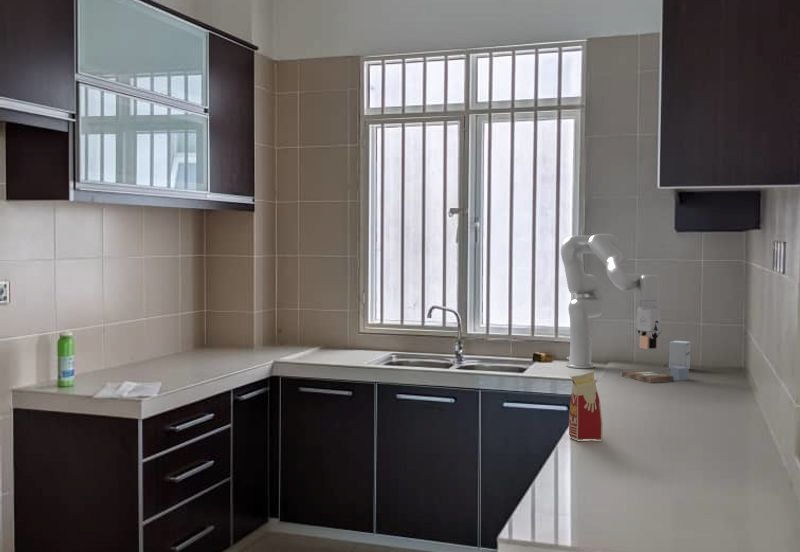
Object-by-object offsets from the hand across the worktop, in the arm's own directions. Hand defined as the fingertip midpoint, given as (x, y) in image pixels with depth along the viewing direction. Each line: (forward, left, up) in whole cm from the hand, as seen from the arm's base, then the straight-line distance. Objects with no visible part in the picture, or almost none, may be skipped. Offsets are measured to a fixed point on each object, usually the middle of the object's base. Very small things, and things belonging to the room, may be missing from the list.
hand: (648, 346), depth 342 cm
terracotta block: (0, 0, -1) cm, 1 cm away
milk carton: (+75, -86, -14) cm, 115 cm away
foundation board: (0, 0, -13) cm, 13 cm away
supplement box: (-14, +30, -14) cm, 36 cm away
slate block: (+6, +12, -14) cm, 19 cm away
